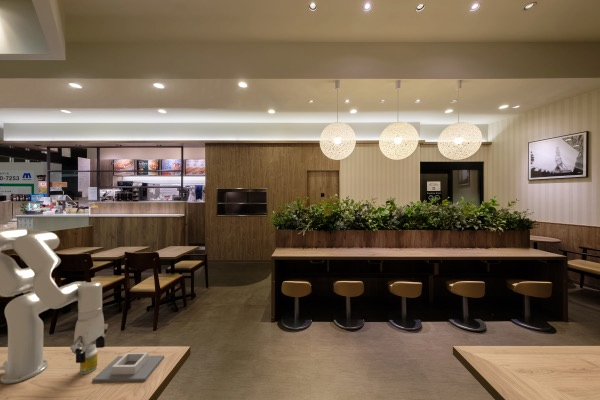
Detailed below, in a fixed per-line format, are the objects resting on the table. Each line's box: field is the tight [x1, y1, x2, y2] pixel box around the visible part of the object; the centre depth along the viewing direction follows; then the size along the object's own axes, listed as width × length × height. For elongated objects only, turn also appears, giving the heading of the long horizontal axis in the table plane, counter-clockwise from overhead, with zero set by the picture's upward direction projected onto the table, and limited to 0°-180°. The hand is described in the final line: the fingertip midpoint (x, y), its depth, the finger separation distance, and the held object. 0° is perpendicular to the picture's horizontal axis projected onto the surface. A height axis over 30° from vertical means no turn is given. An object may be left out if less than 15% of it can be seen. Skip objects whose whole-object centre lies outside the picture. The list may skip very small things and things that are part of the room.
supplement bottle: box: [79, 343, 99, 375], centre depth 99 cm, size 5×5×10 cm
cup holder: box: [91, 352, 165, 383], centre depth 100 cm, size 20×14×4 cm
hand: (91, 354), depth 99 cm, fingers open, 9 cm apart
